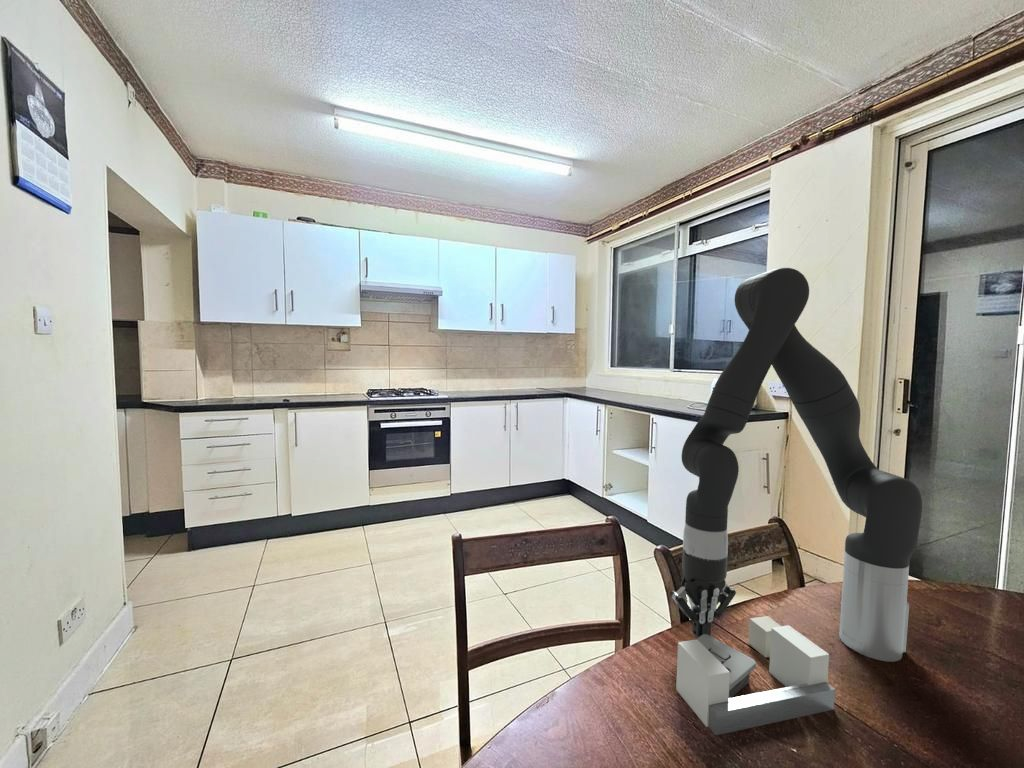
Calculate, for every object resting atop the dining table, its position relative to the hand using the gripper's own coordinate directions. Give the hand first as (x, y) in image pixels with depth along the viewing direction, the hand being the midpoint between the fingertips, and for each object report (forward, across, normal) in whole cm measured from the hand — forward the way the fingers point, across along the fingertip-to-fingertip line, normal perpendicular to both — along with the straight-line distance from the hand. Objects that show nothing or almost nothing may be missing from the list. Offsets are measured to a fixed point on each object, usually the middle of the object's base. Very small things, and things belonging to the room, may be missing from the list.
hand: (701, 638), depth 81 cm
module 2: (+2, -9, +12) cm, 15 cm away
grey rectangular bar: (+2, 0, +17) cm, 17 cm away
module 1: (+2, +9, +12) cm, 15 cm away
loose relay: (+2, -11, +3) cm, 12 cm away
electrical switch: (+2, +1, +11) cm, 12 cm away
